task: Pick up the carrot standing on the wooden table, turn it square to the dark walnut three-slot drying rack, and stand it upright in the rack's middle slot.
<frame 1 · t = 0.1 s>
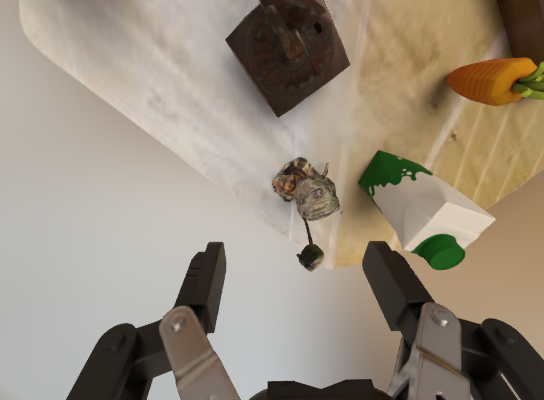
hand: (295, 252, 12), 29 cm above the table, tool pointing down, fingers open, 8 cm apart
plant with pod: (299, 176, 43), on the table
milk carton: (382, 171, 42), on the table
rack: (538, 4, 29), on the table
manual coffee grinder: (276, 34, 31), on the table
carrot: (447, 77, 34), on the table
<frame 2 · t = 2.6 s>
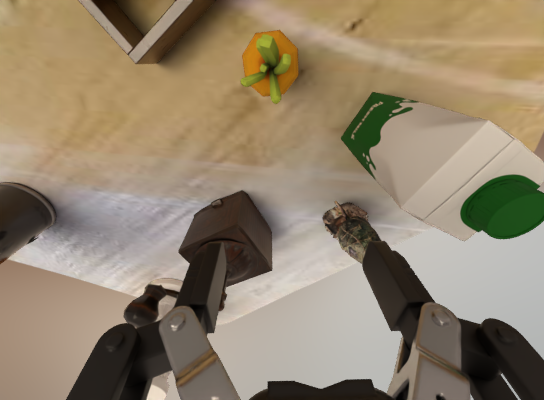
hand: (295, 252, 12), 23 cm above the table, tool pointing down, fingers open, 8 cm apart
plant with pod: (344, 216, 40), on the table
milk carton: (373, 127, 32), on the table
manual coffee grinder: (222, 225, 41), on the table
carrot: (269, 63, 27), on the table
decorative container: (171, 293, 51), on the table
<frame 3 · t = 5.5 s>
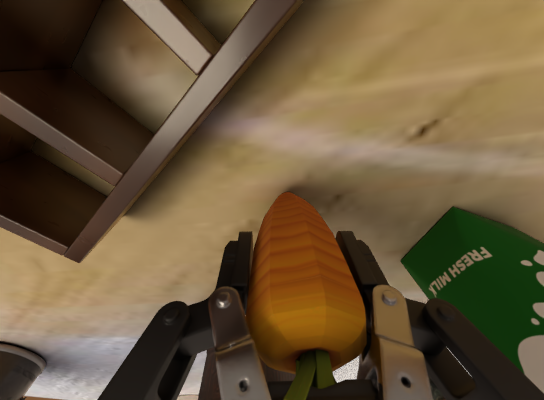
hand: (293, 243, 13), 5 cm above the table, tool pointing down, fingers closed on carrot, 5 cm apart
milk carton: (451, 242, 21), on the table
rack: (146, 69, 13), on the table
manual coffee grinder: (243, 350, 32), on the table
carrot: (286, 193, 18), on the table, touching gripper
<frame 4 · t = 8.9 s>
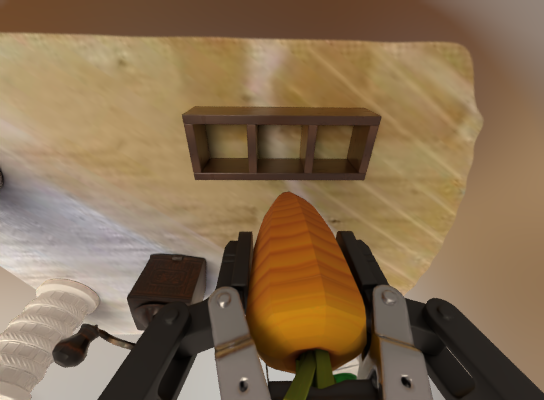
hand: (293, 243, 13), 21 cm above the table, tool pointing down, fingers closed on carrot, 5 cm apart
milk carton: (312, 268, 45), on the table
rack: (279, 137, 30), on the table
manual coffee grinder: (168, 270, 45), on the table
carrot: (286, 193, 18), point 15 cm above the table, touching gripper
decorative container: (71, 294, 49), on the table
when the fingers open (5 cm above the table, at t = 12.8 s): carrot stays where it is, resting in rack.
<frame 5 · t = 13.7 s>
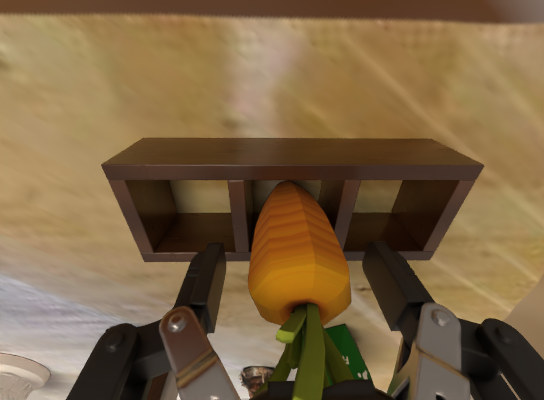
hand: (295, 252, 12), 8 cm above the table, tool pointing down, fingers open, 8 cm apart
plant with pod: (261, 372, 40), on the table
milk carton: (328, 338, 34), on the table
rack: (286, 184, 19), on the table
manual coffee grinder: (134, 342, 33), on the table
carrot: (285, 183, 19), resting in rack
decorative container: (12, 367, 37), on the table
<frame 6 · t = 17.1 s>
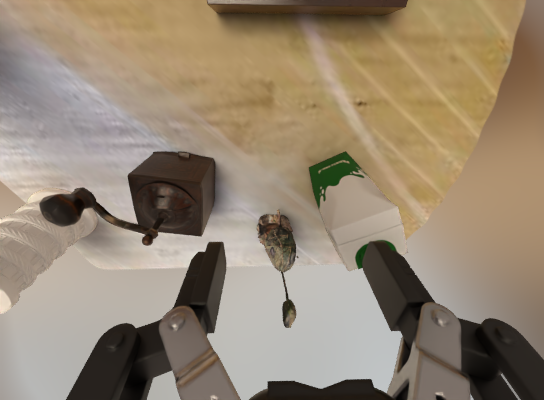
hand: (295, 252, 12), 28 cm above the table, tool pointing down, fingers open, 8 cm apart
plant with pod: (275, 225, 47), on the table
milk carton: (332, 174, 41), on the table
manual coffee grinder: (173, 176, 41), on the table
decorative container: (66, 212, 45), on the table
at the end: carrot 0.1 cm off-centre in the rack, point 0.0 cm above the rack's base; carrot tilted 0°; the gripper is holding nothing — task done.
